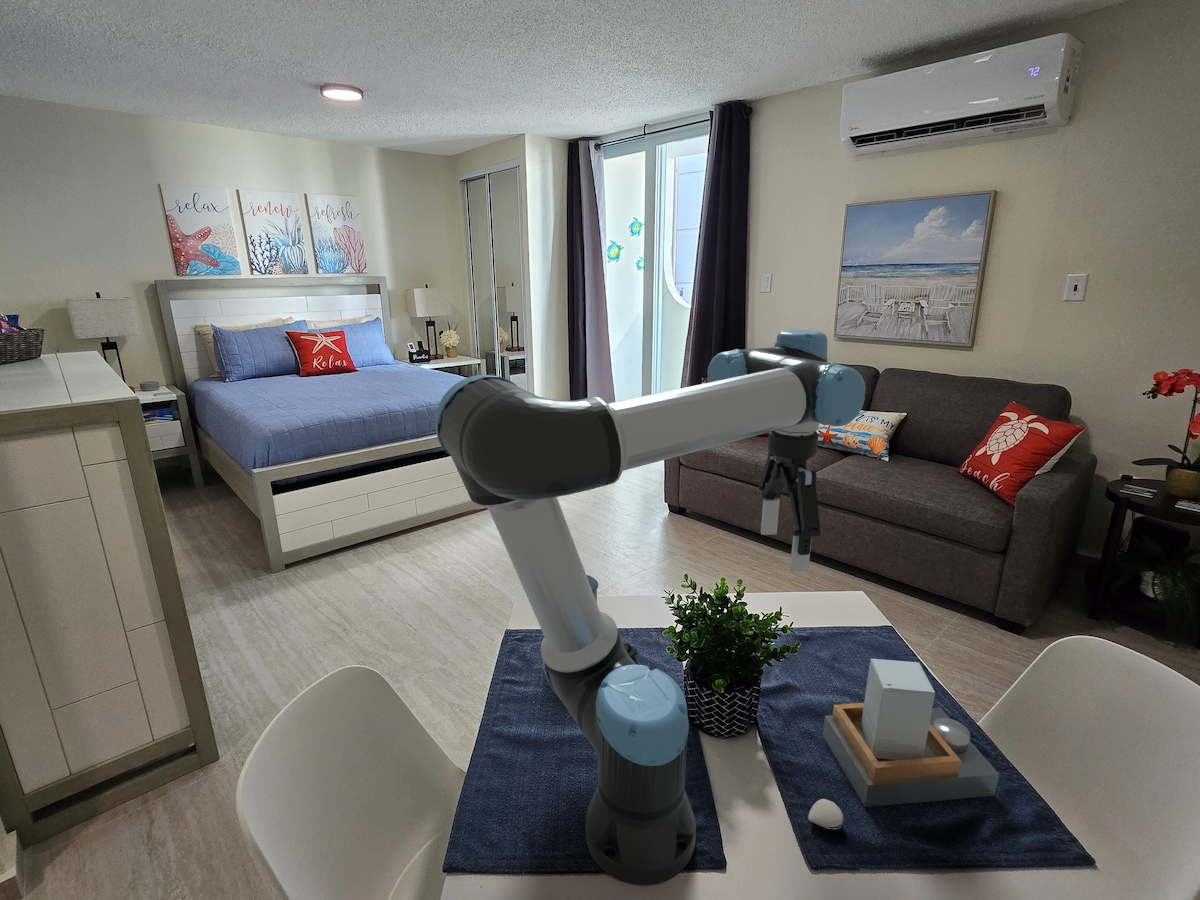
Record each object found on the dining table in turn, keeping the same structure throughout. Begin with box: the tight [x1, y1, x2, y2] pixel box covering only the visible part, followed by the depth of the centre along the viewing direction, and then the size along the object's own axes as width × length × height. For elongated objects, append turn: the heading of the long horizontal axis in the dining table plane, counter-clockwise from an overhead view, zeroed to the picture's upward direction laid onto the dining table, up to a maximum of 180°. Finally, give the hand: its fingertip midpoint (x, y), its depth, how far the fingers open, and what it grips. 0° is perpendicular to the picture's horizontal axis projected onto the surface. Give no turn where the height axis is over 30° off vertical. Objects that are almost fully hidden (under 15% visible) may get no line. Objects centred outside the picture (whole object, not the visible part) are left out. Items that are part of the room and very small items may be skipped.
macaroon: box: [807, 798, 844, 831], centre depth 87 cm, size 4×5×2 cm
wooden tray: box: [821, 702, 1000, 808], centre depth 96 cm, size 20×14×6 cm
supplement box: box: [861, 658, 936, 760], centre depth 94 cm, size 7×7×13 cm
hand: (782, 551), depth 104 cm, fingers open, 13 cm apart
